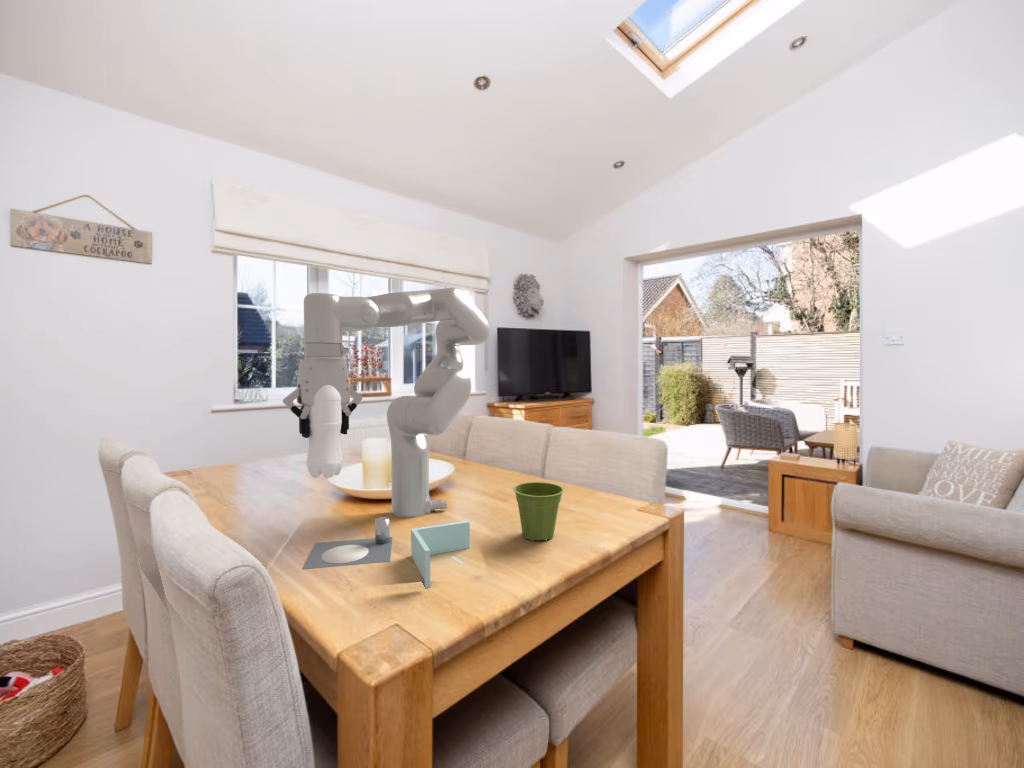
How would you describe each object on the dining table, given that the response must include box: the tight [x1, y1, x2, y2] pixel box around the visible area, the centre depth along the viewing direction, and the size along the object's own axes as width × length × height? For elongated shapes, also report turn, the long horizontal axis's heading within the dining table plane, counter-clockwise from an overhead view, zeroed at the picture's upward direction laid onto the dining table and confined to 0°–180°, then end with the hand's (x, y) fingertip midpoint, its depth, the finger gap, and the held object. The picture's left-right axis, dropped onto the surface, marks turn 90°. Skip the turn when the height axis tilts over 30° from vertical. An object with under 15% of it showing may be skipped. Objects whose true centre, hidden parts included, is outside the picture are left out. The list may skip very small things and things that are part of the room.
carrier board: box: [301, 536, 393, 570], centre depth 95 cm, size 16×13×2 cm
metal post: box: [374, 516, 391, 545], centre depth 100 cm, size 3×3×5 cm
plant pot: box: [512, 481, 565, 541], centre depth 107 cm, size 12×12×11 cm
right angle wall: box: [410, 520, 471, 590], centre depth 90 cm, size 12×12×8 cm
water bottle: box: [306, 385, 344, 479], centre depth 99 cm, size 7×7×25 cm
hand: (324, 434), depth 99 cm, fingers closed on water bottle, 7 cm apart
